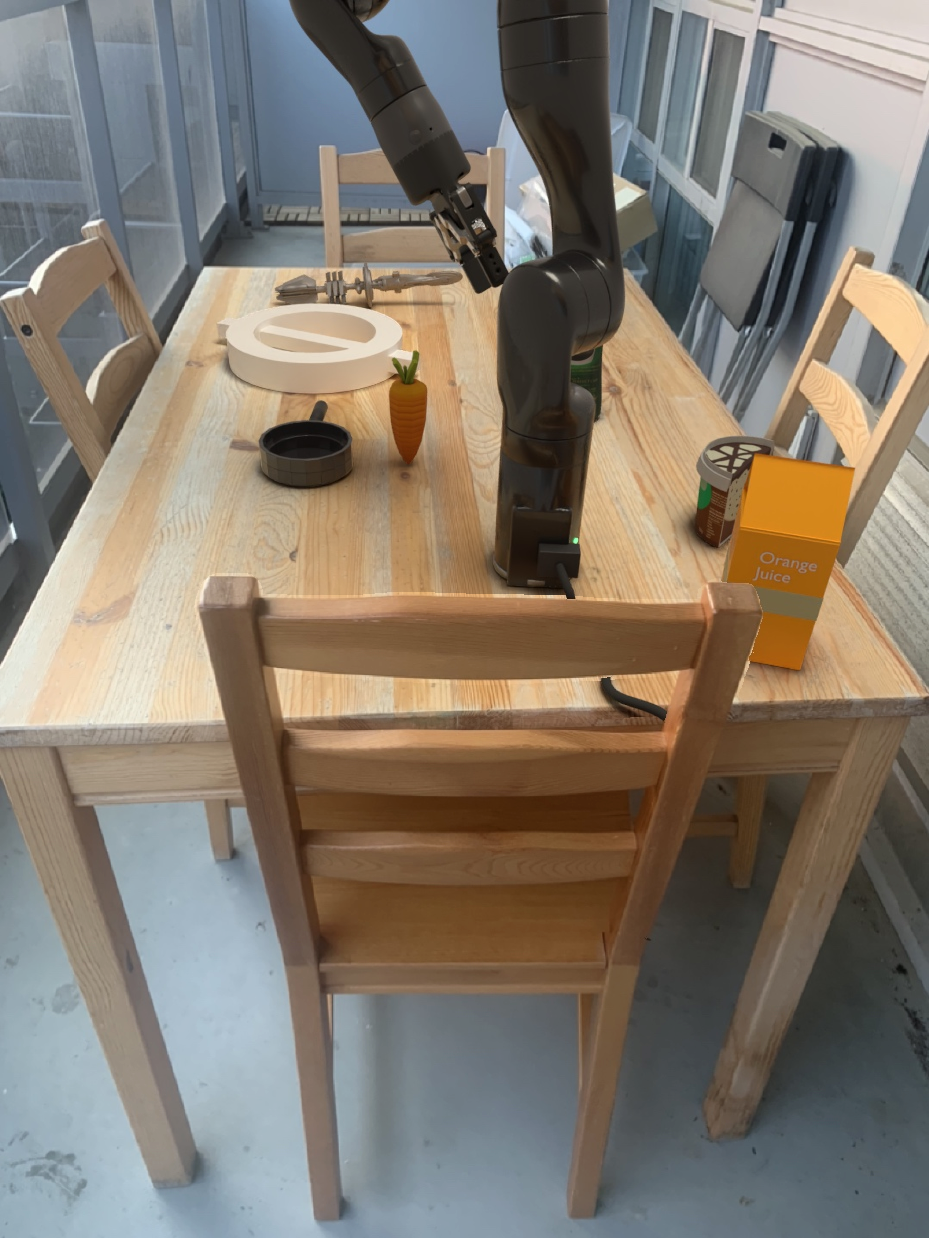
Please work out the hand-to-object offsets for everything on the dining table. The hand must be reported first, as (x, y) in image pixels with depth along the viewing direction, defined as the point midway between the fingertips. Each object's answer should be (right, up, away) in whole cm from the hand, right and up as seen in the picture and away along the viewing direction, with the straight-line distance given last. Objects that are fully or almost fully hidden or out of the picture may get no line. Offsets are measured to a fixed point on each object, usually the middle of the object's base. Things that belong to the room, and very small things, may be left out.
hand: (493, 287), depth 103 cm
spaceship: (-21, +22, +70) cm, 77 cm away
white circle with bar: (-27, +5, +47) cm, 55 cm away
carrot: (-11, -17, +19) cm, 27 cm away
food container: (+27, -26, +8) cm, 38 cm away
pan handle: (-23, -10, +23) cm, 34 cm away
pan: (-24, -17, +17) cm, 34 cm away
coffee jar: (+12, -7, +33) cm, 36 cm away
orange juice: (+26, -40, -10) cm, 49 cm away
